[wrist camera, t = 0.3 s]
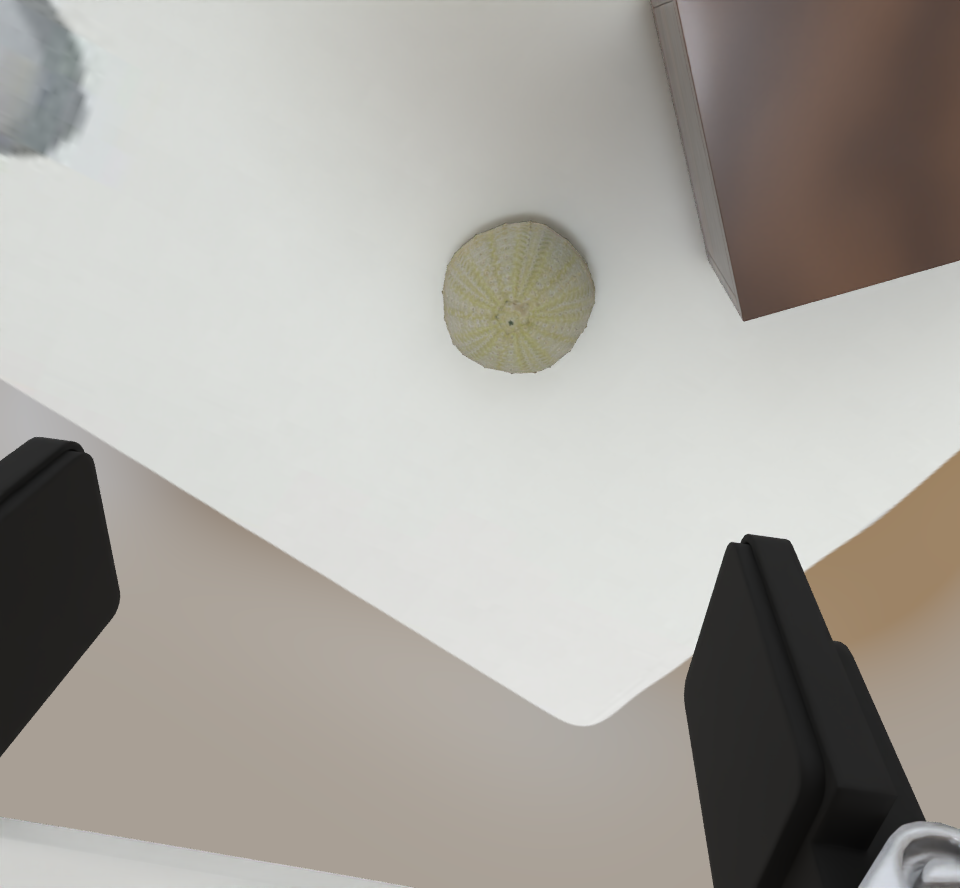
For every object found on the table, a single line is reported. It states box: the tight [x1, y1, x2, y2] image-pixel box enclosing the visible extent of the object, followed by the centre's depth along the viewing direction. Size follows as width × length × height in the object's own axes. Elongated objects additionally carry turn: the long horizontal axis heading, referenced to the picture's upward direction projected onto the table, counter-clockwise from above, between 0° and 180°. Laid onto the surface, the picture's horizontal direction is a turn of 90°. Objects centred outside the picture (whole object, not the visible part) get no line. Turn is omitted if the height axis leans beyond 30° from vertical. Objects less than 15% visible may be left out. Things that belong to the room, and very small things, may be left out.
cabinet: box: [650, 0, 960, 321], centre depth 34 cm, size 18×15×11 cm
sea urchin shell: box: [442, 221, 595, 374], centre depth 45 cm, size 9×8×8 cm
